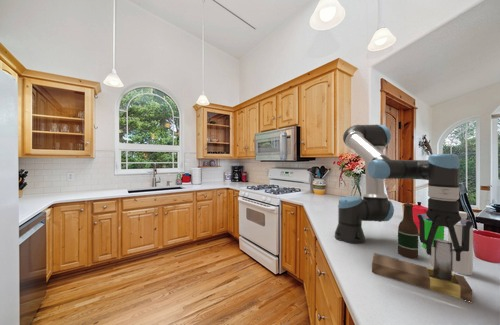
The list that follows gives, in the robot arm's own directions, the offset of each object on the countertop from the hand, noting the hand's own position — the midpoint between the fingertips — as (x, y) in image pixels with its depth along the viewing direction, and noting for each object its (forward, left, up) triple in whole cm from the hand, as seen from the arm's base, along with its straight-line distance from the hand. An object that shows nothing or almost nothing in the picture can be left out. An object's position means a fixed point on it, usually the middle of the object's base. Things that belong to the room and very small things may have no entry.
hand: (442, 266), depth 66 cm
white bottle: (+8, +20, -7) cm, 22 cm away
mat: (-16, +11, -7) cm, 21 cm away
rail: (-7, 0, -7) cm, 10 cm away
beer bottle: (-8, +23, -7) cm, 25 cm away
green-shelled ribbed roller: (+3, +41, -7) cm, 41 cm away
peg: (0, 0, -3) cm, 3 cm away
